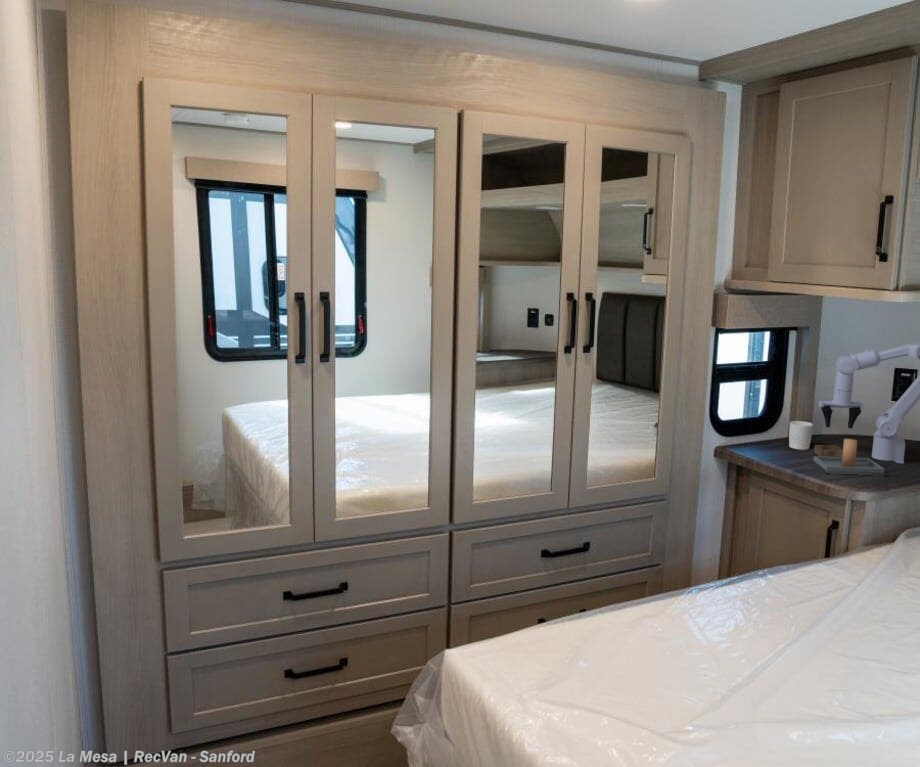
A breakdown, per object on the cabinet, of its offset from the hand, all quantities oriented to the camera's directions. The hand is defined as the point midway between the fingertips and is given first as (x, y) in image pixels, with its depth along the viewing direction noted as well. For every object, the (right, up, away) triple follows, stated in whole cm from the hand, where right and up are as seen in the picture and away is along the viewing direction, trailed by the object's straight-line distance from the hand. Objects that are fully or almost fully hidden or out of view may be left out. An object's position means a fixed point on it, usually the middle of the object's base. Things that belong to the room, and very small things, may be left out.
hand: (838, 427), depth 273 cm
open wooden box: (-4, -11, -1) cm, 11 cm away
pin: (-5, -12, -16) cm, 20 cm away
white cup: (-10, -9, +10) cm, 17 cm away
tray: (-5, -13, -16) cm, 21 cm away
